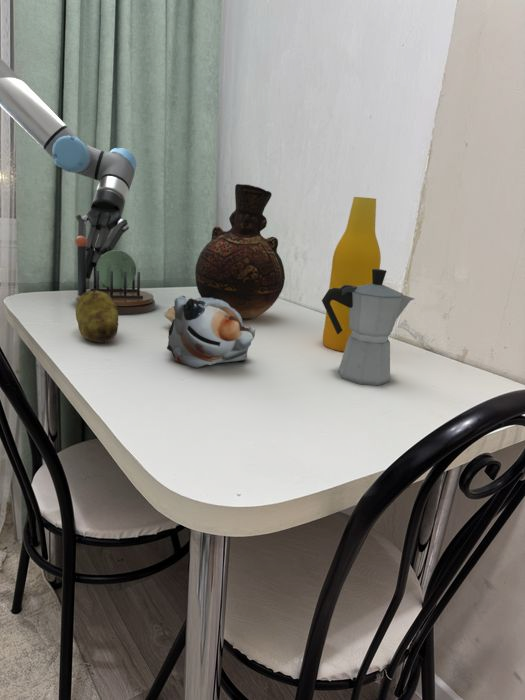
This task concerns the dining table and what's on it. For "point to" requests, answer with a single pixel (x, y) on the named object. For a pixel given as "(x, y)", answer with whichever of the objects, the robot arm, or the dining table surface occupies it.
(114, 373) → the dining table surface
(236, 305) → the ceramic vessel
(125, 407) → the dining table surface
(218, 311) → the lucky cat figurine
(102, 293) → the potato
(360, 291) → the coffee maker
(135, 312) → the base
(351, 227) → the beer bottle
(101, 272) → the dish rack
